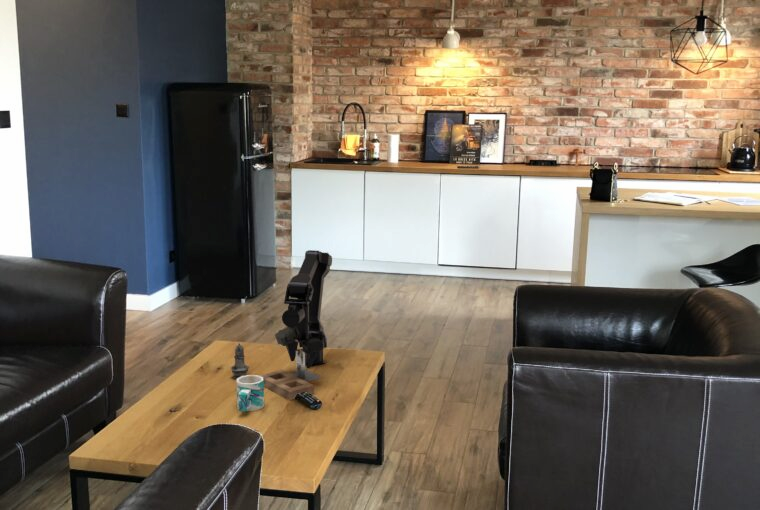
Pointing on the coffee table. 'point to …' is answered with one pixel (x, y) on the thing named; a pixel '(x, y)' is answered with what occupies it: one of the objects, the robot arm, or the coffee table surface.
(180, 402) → the coffee table surface
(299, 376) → the pin
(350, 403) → the coffee table surface
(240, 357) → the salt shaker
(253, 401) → the mug
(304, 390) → the socket block
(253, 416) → the coffee table surface
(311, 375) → the mat
